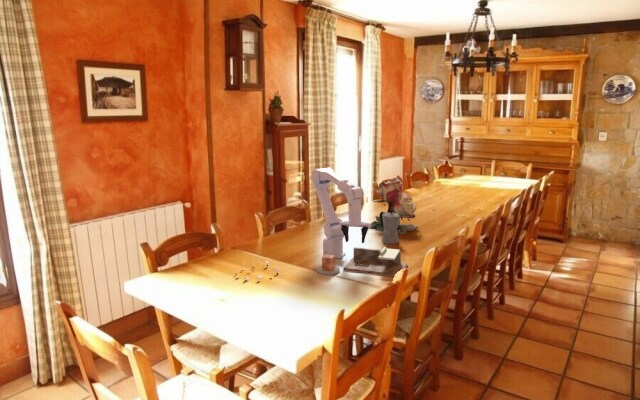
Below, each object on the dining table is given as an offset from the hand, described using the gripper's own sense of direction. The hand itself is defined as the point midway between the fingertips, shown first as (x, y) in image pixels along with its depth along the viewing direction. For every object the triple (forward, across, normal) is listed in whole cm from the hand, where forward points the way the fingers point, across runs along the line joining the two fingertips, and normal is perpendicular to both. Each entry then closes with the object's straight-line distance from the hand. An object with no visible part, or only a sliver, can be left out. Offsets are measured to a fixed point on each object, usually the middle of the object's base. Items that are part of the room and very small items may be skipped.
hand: (355, 242), depth 212 cm
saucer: (+10, -8, -14) cm, 19 cm away
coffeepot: (+10, +8, +40) cm, 42 cm away
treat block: (+9, -8, -14) cm, 19 cm away
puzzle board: (+11, +10, -3) cm, 15 cm away
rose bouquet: (+10, +5, +70) cm, 71 cm away
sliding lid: (+4, +17, -3) cm, 17 cm away
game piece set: (+11, -38, -27) cm, 47 cm away
